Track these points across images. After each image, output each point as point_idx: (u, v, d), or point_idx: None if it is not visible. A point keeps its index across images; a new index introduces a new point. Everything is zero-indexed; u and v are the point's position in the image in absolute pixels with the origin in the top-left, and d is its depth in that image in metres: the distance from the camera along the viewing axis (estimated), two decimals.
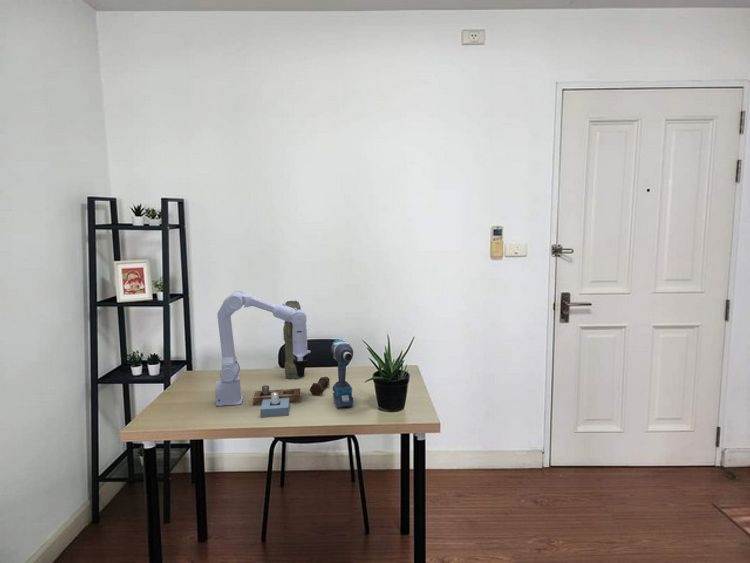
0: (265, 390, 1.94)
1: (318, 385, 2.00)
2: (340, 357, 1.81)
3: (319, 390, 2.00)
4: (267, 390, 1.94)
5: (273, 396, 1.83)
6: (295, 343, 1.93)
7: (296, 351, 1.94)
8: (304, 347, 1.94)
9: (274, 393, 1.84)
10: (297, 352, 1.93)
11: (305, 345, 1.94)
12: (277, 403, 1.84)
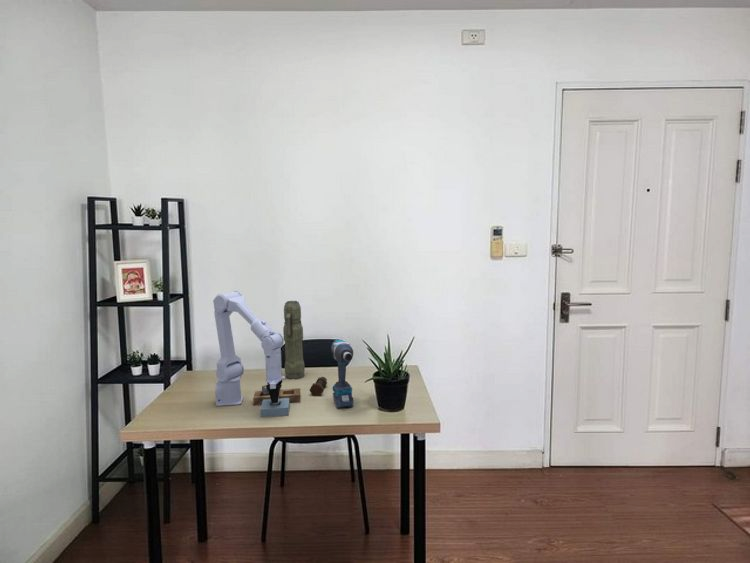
0: (265, 390, 1.94)
1: (318, 385, 2.00)
2: (340, 357, 1.81)
3: (319, 391, 2.00)
4: (267, 390, 1.94)
5: None
6: (268, 369, 1.80)
7: (269, 377, 1.81)
8: (278, 373, 1.81)
9: None
10: (270, 379, 1.81)
11: (279, 371, 1.82)
12: (277, 403, 1.84)
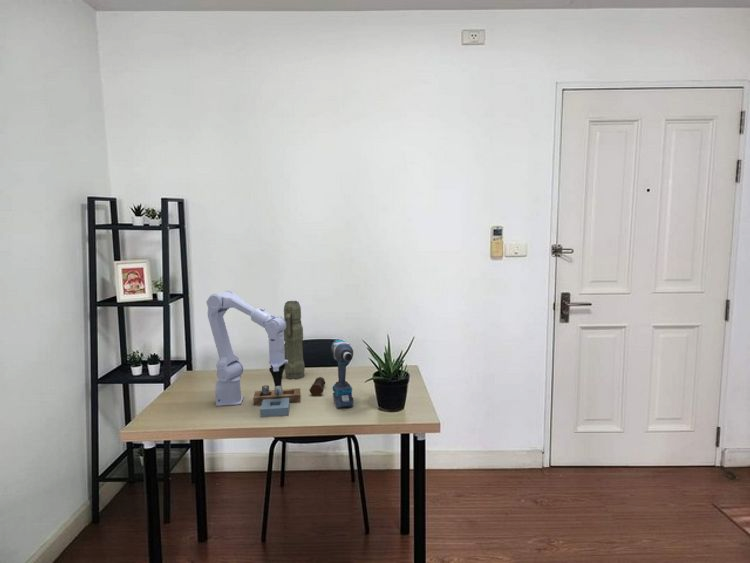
0: (265, 390, 1.94)
1: (318, 385, 2.00)
2: (340, 357, 1.81)
3: (319, 391, 2.00)
4: (267, 390, 1.94)
5: None
6: (271, 352, 1.83)
7: (272, 360, 1.83)
8: (281, 356, 1.84)
9: None
10: (273, 362, 1.83)
11: (282, 354, 1.84)
12: (280, 386, 1.86)
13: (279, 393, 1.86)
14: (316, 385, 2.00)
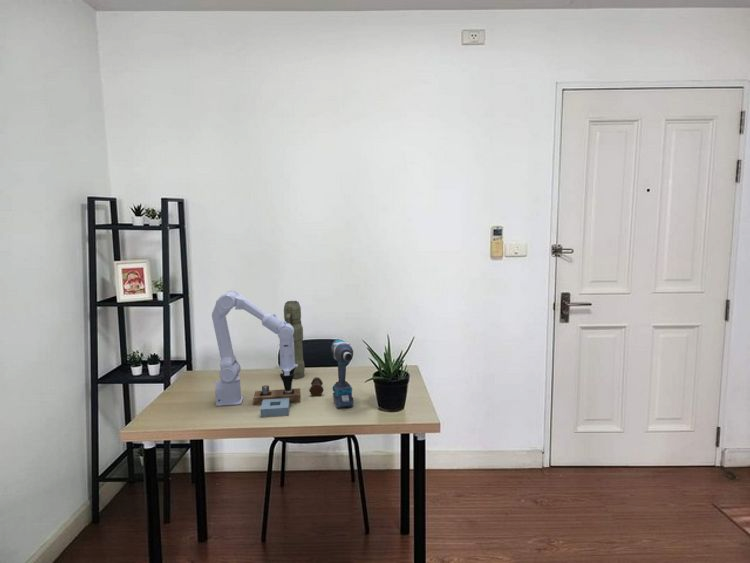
0: (265, 390, 1.94)
1: (318, 385, 2.00)
2: (340, 357, 1.81)
3: (319, 391, 2.00)
4: (267, 390, 1.94)
5: None
6: (282, 357, 1.92)
7: (283, 365, 1.92)
8: (291, 361, 1.93)
9: None
10: (284, 366, 1.92)
11: (292, 359, 1.93)
12: (290, 392, 1.96)
13: None
14: (316, 385, 1.99)
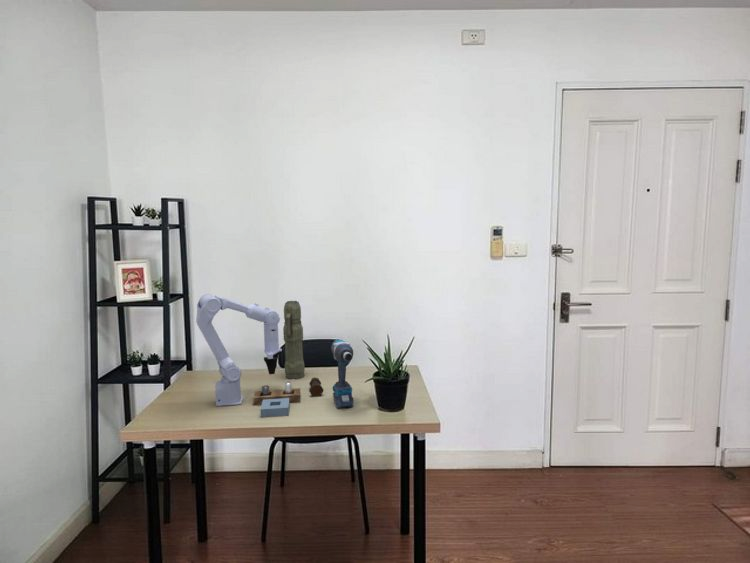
0: (265, 390, 1.94)
1: (318, 385, 1.99)
2: (340, 357, 1.81)
3: (319, 391, 2.00)
4: (267, 390, 1.94)
5: (287, 385, 1.95)
6: (266, 341, 2.00)
7: (267, 349, 2.00)
8: (275, 345, 2.00)
9: (287, 382, 1.96)
10: (268, 350, 2.00)
11: (276, 343, 2.01)
12: (290, 392, 1.96)
13: None
14: (316, 385, 1.99)
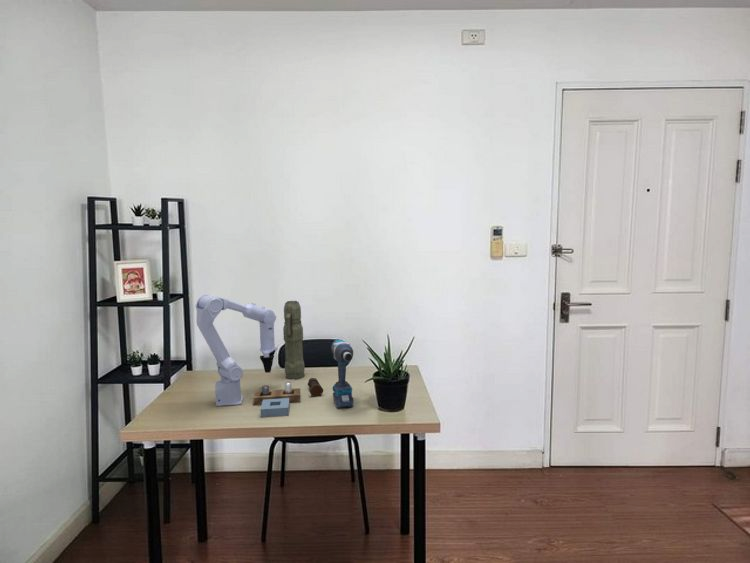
0: (265, 390, 1.94)
1: (318, 386, 1.99)
2: (340, 357, 1.81)
3: (320, 391, 2.00)
4: (267, 390, 1.94)
5: (287, 385, 1.95)
6: (262, 340, 2.02)
7: (263, 348, 2.02)
8: (271, 344, 2.03)
9: (287, 382, 1.96)
10: (264, 349, 2.02)
11: (272, 342, 2.03)
12: (290, 392, 1.96)
13: None
14: (316, 385, 1.99)
